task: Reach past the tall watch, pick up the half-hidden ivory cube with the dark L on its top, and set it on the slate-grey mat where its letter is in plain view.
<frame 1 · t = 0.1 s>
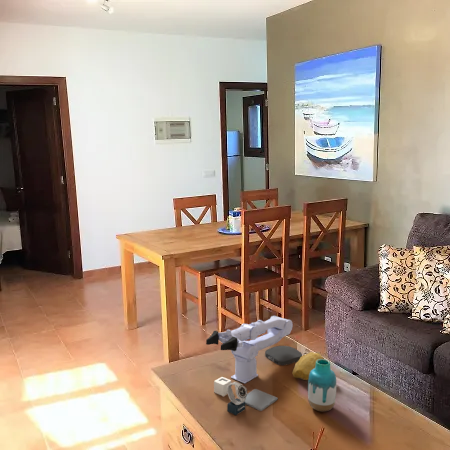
hand: (213, 344, 196), 22 cm above the table, tool horizontal, fingers open, 7 cm apart
letter cube: (222, 392, 203), on the table
media streaming box: (283, 358, 234), on the table
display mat: (258, 400, 196), on the table
watch: (236, 410, 189), on the table
vase: (321, 408, 190), on the table
decorative stone: (310, 380, 213), on the table
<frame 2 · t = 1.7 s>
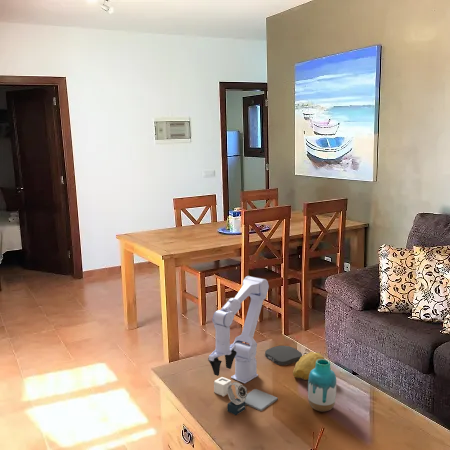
hand: (222, 371, 201), 9 cm above the table, tool pointing down, fingers open, 7 cm apart
nothing on the table moved.
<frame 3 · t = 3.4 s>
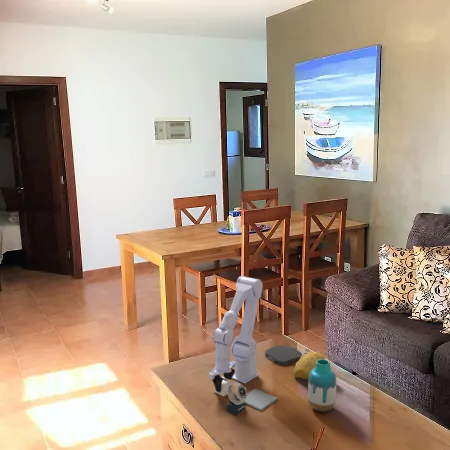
hand: (222, 388, 202), 1 cm above the table, tool pointing down, fingers closed on letter cube, 5 cm apart
letter cube: (222, 391, 203), on the table, touching gripper
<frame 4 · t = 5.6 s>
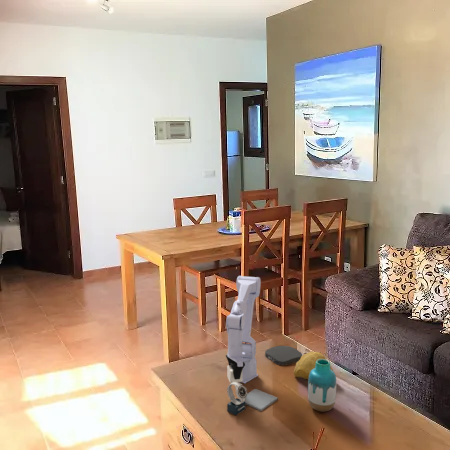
hand: (235, 375, 199), 8 cm above the table, tool pointing down, fingers closed on letter cube, 5 cm apart
letter cube: (234, 379, 199), point 7 cm above the table, touching gripper
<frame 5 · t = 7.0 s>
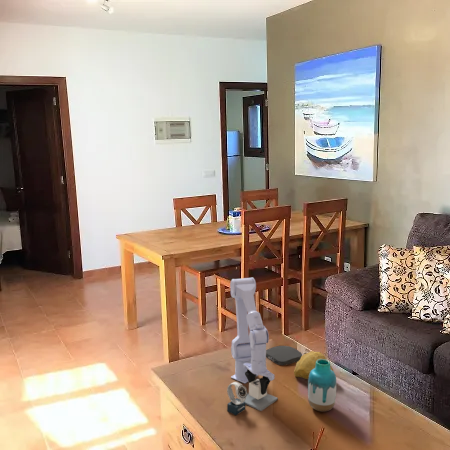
hand: (258, 391, 195), 4 cm above the table, tool pointing down, fingers closed on letter cube, 5 cm apart
letter cube: (257, 394, 195), point 2 cm above the table, touching gripper
when the fingers open (4 cm above the table, at t = 8.0 s): letter cube drops 1 cm, resting on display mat.
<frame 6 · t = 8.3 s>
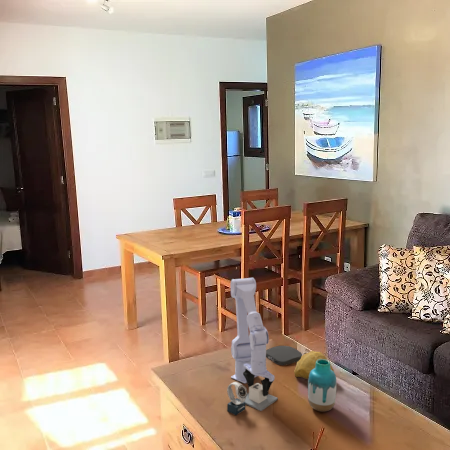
hand: (258, 391, 195), 4 cm above the table, tool pointing down, fingers open, 7 cm apart
letter cube: (257, 398, 196), point 1 cm above the table, touching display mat
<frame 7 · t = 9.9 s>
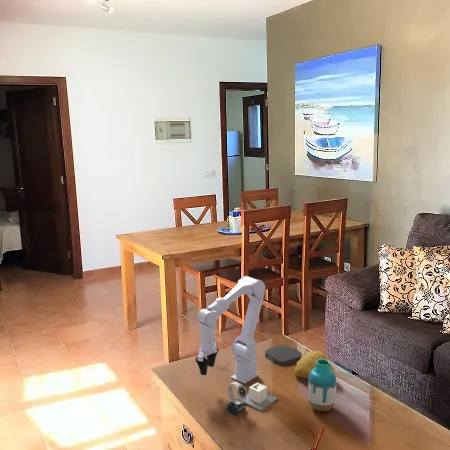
hand: (207, 370, 201), 9 cm above the table, tool pointing down, fingers open, 7 cm apart
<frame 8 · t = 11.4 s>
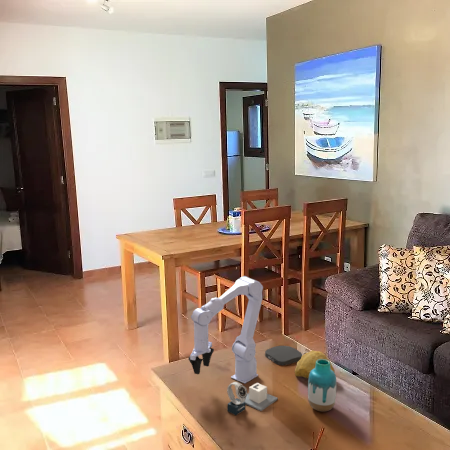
hand: (201, 369, 202), 9 cm above the table, tool pointing down, fingers open, 7 cm apart
at the end: letter cube inside the target area on the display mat (0.2 cm from its centre), point 0.8 cm above the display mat's base; letter cube tilted 0°; watch moved 0.2 cm from its start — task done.
